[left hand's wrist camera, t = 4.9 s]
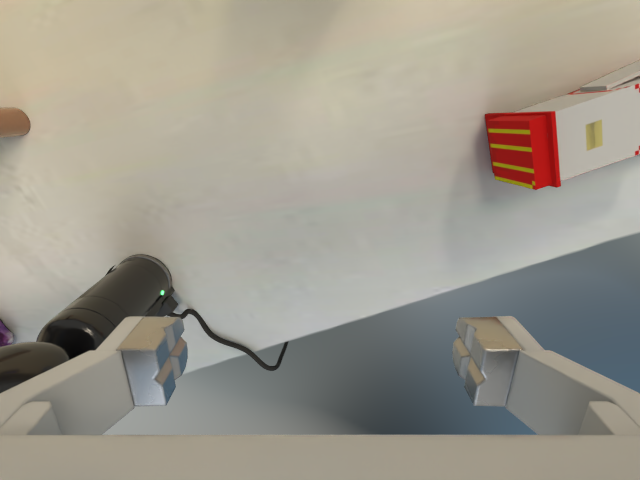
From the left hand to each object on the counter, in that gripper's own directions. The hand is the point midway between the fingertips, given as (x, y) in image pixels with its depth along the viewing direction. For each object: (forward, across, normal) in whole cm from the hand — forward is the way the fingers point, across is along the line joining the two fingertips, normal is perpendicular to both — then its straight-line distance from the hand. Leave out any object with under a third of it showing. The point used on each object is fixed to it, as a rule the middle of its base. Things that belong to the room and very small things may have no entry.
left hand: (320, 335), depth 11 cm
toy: (+48, -39, -5) cm, 62 cm away
